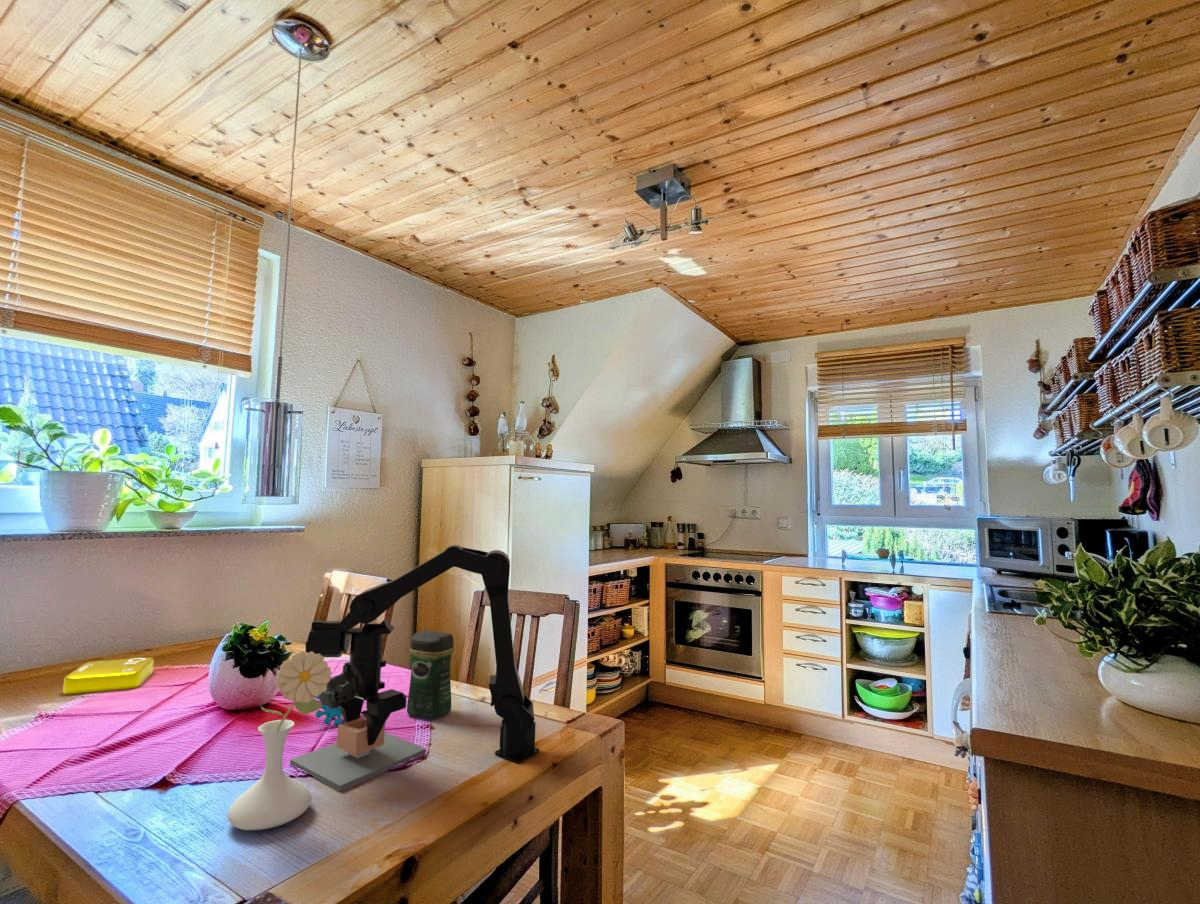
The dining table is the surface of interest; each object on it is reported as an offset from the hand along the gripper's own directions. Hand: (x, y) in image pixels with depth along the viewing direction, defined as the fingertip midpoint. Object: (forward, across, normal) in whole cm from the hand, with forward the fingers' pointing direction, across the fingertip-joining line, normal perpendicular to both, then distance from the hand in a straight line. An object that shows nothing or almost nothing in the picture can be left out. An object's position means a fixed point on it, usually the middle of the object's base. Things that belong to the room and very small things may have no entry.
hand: (360, 740), depth 109 cm
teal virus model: (+4, -21, +8) cm, 23 cm away
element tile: (+4, -88, -13) cm, 89 cm away
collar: (+1, 0, 0) cm, 1 cm away
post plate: (+4, 0, 0) cm, 4 cm away
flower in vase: (+4, +7, -19) cm, 21 cm away
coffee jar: (+4, -8, +23) cm, 25 cm away
